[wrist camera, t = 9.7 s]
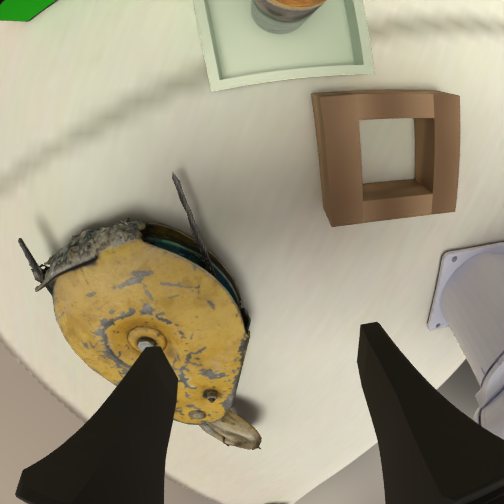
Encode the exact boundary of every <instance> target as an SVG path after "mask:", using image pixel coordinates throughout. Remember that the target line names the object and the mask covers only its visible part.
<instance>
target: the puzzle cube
mask: <svg viewBox="0 0 504 504" xmlns="http://www.w3.org/2000/svg"><path fill="white" fill-rule="evenodd" d="M55 1H56V0H0V20H4V21H26V22H27V21H29V20H30V19H31V18H33V17H34V16H35V15H37V14H38V13H39V12H41V11H42V10H43V9H45V8H46V7H48V6H49V5H50V4H52V3H53V2H55Z"/></svg>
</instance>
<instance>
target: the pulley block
mask: <svg viewBox="0 0 504 504" xmlns="http://www.w3.org/2000/svg"><path fill="white" fill-rule="evenodd" d="M172 179H173V181H174V184H175V186H176V189H177V191H178V194H179V197H180V201H181V203H182V205H183V207H184V209H185V211H186V212H187V216H188V220H189V223H190V228H191V232H192V234H193V237H194V239H195V240H194V239H193V238H191V237H190V236H188V235H186V234H184V233H182V232H181V231H178V230H176V229H173V228H170V227H167V226H165V225H162V224H159V223H147V222H144V221H140V220H138V221H131V222H130V221H129V218H126V219H125V220H124V221H121V222H122V223H117V222H116V223H115V224H114V225H113V226H110V227H107V228H104V227H100V229H99V230H83V231H82V232H81V234H80V235H77V236H72V240H71V241H70V242H69V244H68V245H66V246H65V247H63V248H61V249H59V251H58V252H57V253H56V254H55V255H53V256H52V257H50V258H49V260H48V261H47V262H46V263H44V264H50V267H47V266H46V265H43V264H41V265H40V266H39V265H38V264H37V263H36V261H35V259H34V258H33V256H32V254H31V253H30V251H29V250H28V248H27V247H26V245H25V243H24V242H23V240H22V238H19V240H18V242H19V244H20V246H21V248H22V250H23V251H24V253H25V256H26V258H27V259H28V261H29V263H30V264H29V265H30V266H31V267H32V268H33V269H31V270H32V272H33V275H34V277H35V280H37V281H38V282H40V283H41V284H40V285H39V286H37V287H36V289H35V291H36V292H37V291H39V290H41V289H42V288H44V287H46V288H47V290H48V291H49V292H50V294H51V295H52V297H53V304H54V312H55V316H56V320H57V322H58V324H59V327H60V329H61V331H62V333H63V335H64V337H65V339H66V341H67V342H68V343H69V345H70V346H71V347H72V349H73V350H74V351H75V353H76V354H77V355H78V356H79V357H80V358H81V359H82V360H83V361H84V362H85V363H86V364H87V365H88V366H89V367H90V368H91V369H93V370H94V371H96V372H97V373H98V374H100V375H101V376H103V377H104V378H105V379H107V380H108V381H110V382H111V383H113V384H114V385H116V386H118V384H119V383H120V382H121V380H122V379H123V378H124V376H125V375H126V373H127V372H128V371H129V369H130V368H131V367H132V365H133V364H134V362H135V361H136V360H137V358H138V357H139V356H140V354H141V353H142V352H143V350H144V349H145V348H146V347H152V346H161V348H162V350H163V352H164V354H165V356H166V357H167V359H168V361H169V363H170V365H171V367H172V368H173V370H174V372H175V374H176V376H177V377H178V391H177V403H176V408H175V413H174V418H173V420H175V421H178V422H182V423H185V424H192V425H199V426H200V427H201V428H202V429H203V430H204V431H205V432H206V433H208V434H210V435H212V436H213V437H215V438H217V439H219V440H220V441H222V442H223V443H224V444H226V445H227V446H228V447H229V445H232V446H236V447H240V448H244V449H252V450H254V449H256V448H259V449H261V448H260V447H259V445H260V443H261V436H260V434H259V433H258V432H257V430H256V429H255V428H254V427H253V426H252V425H250V424H249V423H248V422H247V421H245V420H244V419H242V418H241V417H240V416H238V415H237V414H235V413H234V412H232V411H231V410H229V408H230V407H231V406H232V405H233V403H234V399H235V395H236V390H237V386H238V382H239V378H240V374H241V370H242V365H243V361H244V357H245V354H246V350H247V346H248V342H249V338H250V331H249V330H248V329H249V325H250V321H251V319H250V317H249V315H248V313H247V312H246V310H245V309H244V308H242V309H241V308H240V305H241V303H240V301H241V298H240V293H239V290H238V287H237V285H236V283H235V280H234V279H233V277H232V276H231V274H230V273H229V271H228V270H227V268H226V267H225V266H224V265H223V264H222V263H221V262H220V261H219V260H218V258H217V257H216V256H215V255H214V254H213V253H212V252H211V251H209V250H208V249H207V248H206V247H205V245H204V242H203V240H202V238H201V235H200V233H199V230H198V228H197V225H196V222H195V220H194V217H193V215H192V212H191V210H190V207H189V205H188V203H187V201H186V198H185V195H184V193H183V190H182V187H181V183H180V181H179V179H178V178H177V177H176V175H175V174H174V173H173V175H172ZM42 266H45V269H42V268H41V267H42Z"/></svg>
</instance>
